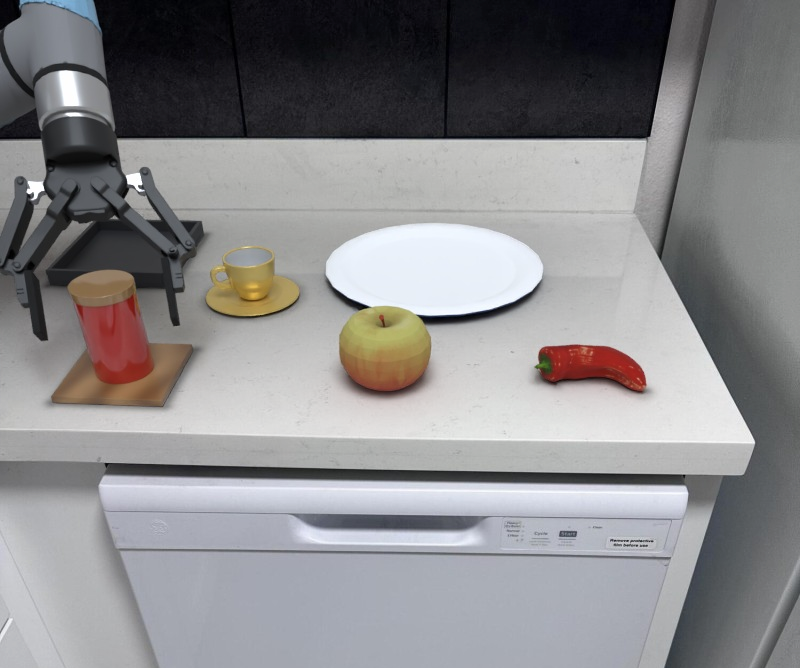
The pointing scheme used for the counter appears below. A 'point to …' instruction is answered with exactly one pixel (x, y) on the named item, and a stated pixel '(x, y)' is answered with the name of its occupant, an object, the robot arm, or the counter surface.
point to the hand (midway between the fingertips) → (109, 329)
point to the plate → (434, 269)
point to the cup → (250, 284)
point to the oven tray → (116, 253)
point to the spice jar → (112, 325)
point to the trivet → (142, 392)
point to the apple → (384, 348)
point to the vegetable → (590, 364)
